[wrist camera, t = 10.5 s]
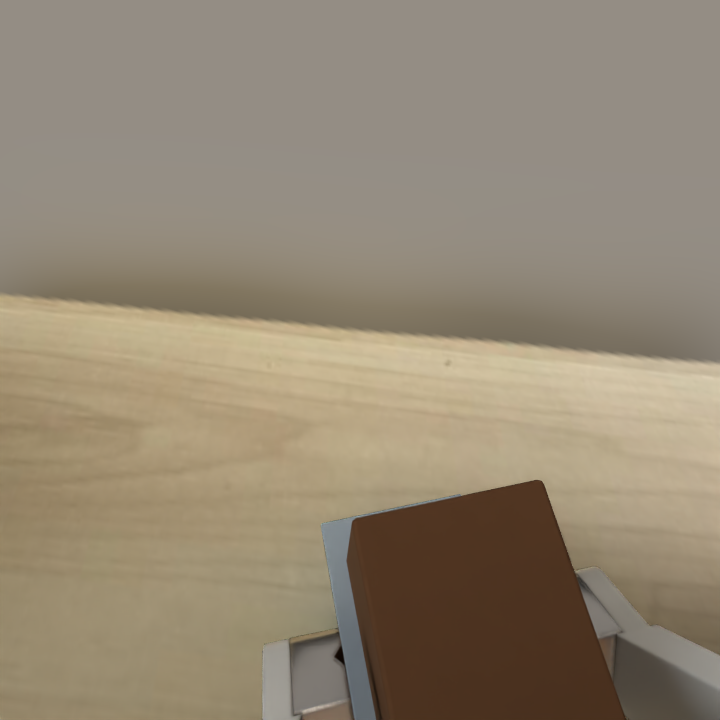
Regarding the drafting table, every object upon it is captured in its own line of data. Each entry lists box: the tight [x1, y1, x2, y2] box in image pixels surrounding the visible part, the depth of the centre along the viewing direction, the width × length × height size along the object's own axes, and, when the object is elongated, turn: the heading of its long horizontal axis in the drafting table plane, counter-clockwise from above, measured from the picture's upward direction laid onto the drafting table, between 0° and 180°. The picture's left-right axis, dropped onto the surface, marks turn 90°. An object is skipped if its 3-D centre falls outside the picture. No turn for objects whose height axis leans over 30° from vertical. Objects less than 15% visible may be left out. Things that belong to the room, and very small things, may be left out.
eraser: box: [321, 480, 626, 720], centre depth 11 cm, size 4×7×10 cm, turn 12°
